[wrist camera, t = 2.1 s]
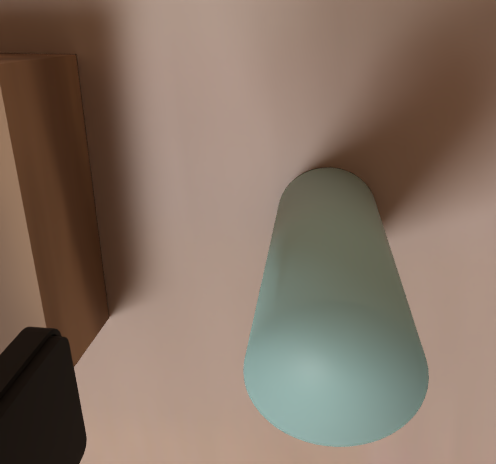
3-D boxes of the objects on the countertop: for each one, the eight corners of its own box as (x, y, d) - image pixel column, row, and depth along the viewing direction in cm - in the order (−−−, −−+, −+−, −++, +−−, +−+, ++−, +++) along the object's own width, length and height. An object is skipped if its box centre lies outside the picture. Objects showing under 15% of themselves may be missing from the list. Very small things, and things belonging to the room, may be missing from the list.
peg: (382, 170, 19) (443, 309, 9) (370, 261, 20) (413, 455, 11) (279, 165, 19) (244, 292, 10) (276, 254, 21) (243, 436, 12)
